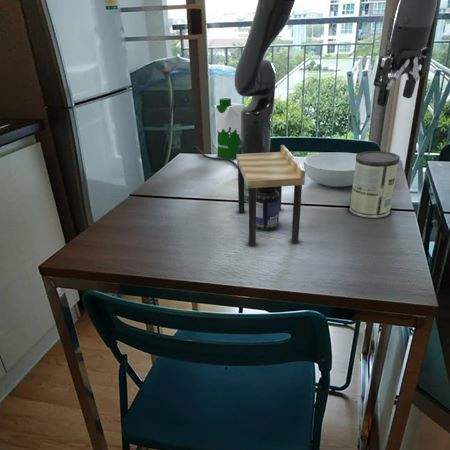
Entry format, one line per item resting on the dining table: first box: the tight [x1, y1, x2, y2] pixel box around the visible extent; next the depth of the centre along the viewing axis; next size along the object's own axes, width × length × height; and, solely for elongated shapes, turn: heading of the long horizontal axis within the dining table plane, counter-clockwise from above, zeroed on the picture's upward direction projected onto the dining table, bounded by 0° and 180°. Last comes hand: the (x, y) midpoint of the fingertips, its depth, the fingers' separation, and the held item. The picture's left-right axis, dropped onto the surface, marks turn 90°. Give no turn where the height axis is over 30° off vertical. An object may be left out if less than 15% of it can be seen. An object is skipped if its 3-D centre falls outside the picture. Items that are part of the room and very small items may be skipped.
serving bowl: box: [303, 151, 358, 188], centre depth 133 cm, size 21×21×7 cm
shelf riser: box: [235, 144, 306, 247], centre depth 104 cm, size 22×12×17 cm, turn 5°
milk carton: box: [213, 97, 245, 161], centre depth 160 cm, size 9×9×20 cm
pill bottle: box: [256, 187, 280, 231], centre depth 106 cm, size 6×6×11 cm
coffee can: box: [349, 150, 401, 219], centre depth 111 cm, size 10×10×14 cm
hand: (394, 101), depth 103 cm, fingers open, 8 cm apart
